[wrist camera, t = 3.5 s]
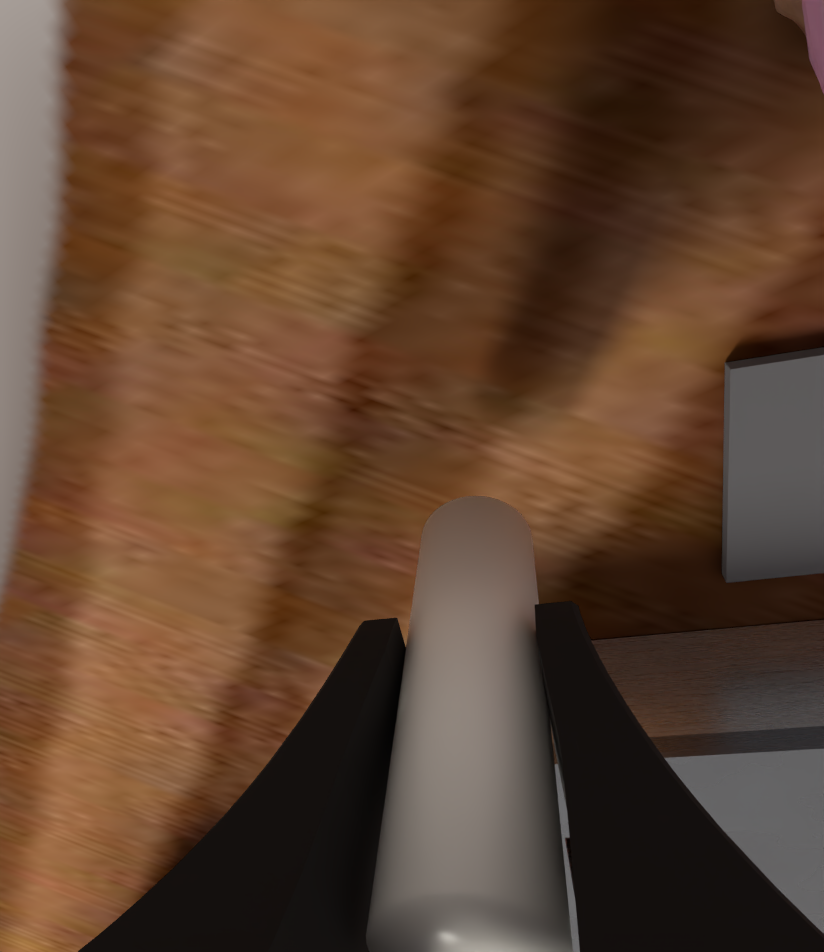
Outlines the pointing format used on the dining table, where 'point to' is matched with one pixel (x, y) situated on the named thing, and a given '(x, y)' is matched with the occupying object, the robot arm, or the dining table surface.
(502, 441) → the dining table surface
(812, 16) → the cupcake
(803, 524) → the coaster
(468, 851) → the white rounded rod
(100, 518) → the dining table surface
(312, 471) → the dining table surface
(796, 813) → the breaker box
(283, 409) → the dining table surface
